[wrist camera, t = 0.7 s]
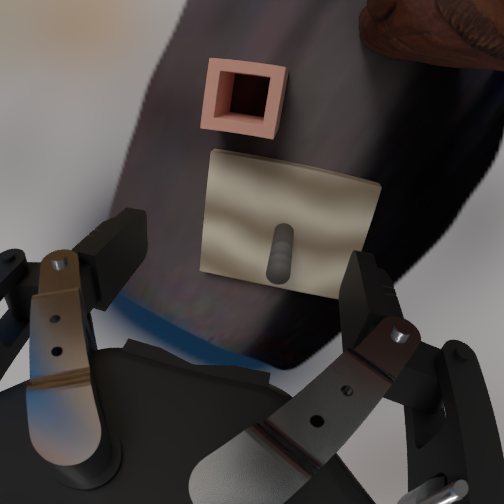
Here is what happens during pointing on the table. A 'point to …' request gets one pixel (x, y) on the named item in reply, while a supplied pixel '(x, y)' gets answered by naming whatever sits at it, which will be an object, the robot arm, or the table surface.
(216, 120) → the bead
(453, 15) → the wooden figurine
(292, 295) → the table surface
